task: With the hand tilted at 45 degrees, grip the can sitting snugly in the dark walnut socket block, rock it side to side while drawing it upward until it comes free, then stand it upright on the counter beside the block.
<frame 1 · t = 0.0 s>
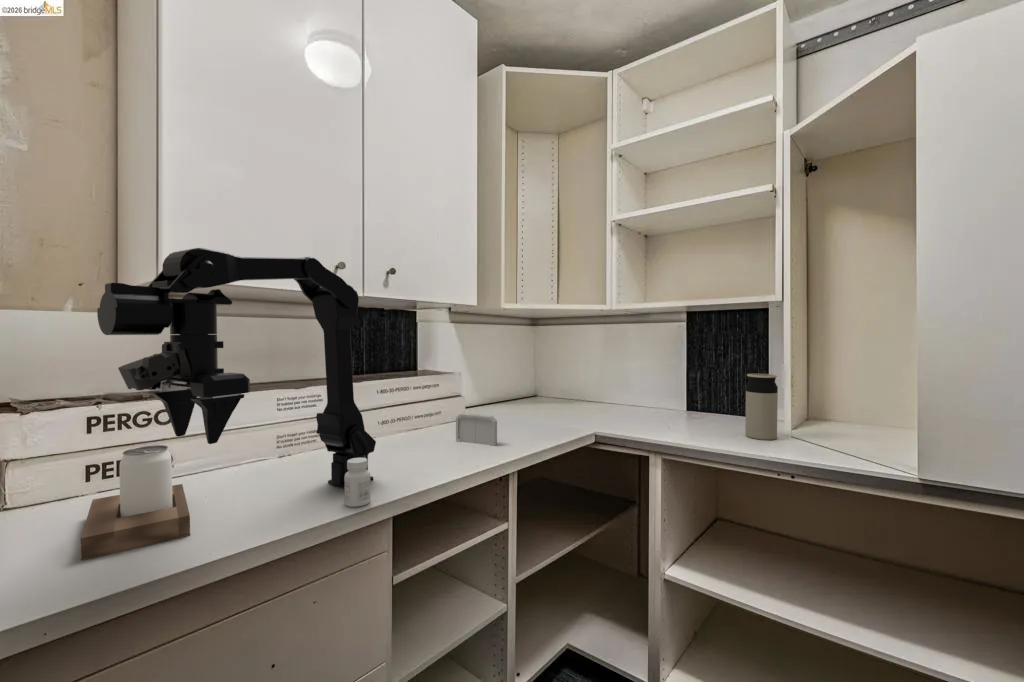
hand: (195, 439, 68), 15 cm above the worktop, tool pointing down, fingers open, 9 cm apart
light switch: (476, 444, 124), on the worktop
socket block: (147, 524, 72), on the worktop
pill bottle: (357, 503, 81), on the worktop
travel mug: (760, 437, 130), on the worktop
can: (147, 525, 72), resting in socket block
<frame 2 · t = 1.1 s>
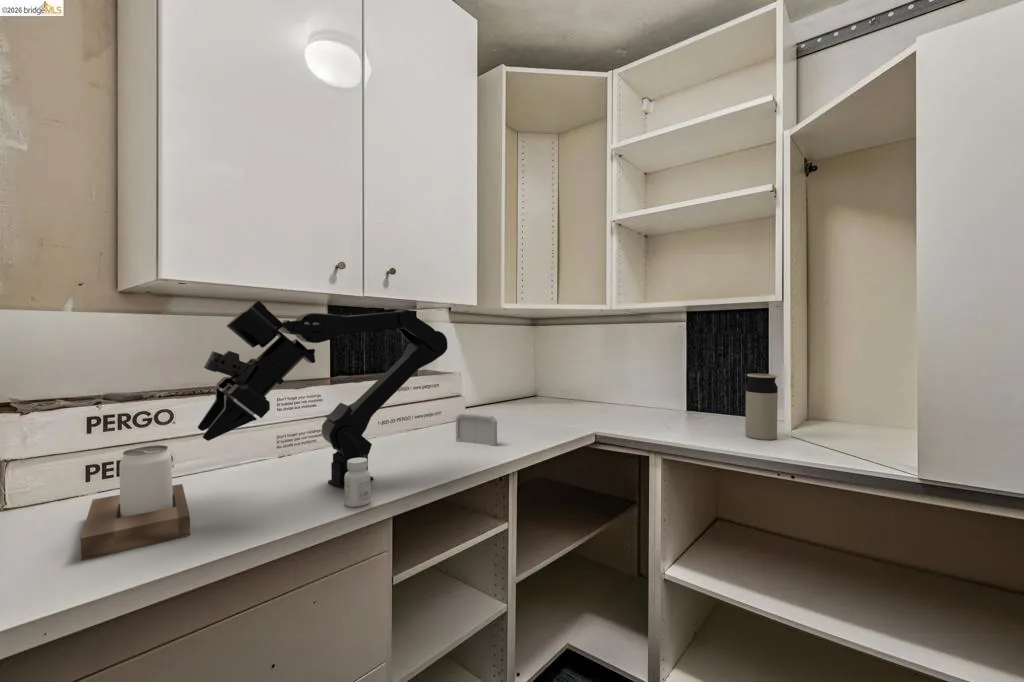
hand: (202, 434, 77), 13 cm above the worktop, tool tilted 45°, fingers open, 9 cm apart
nothing on the worktop moved.
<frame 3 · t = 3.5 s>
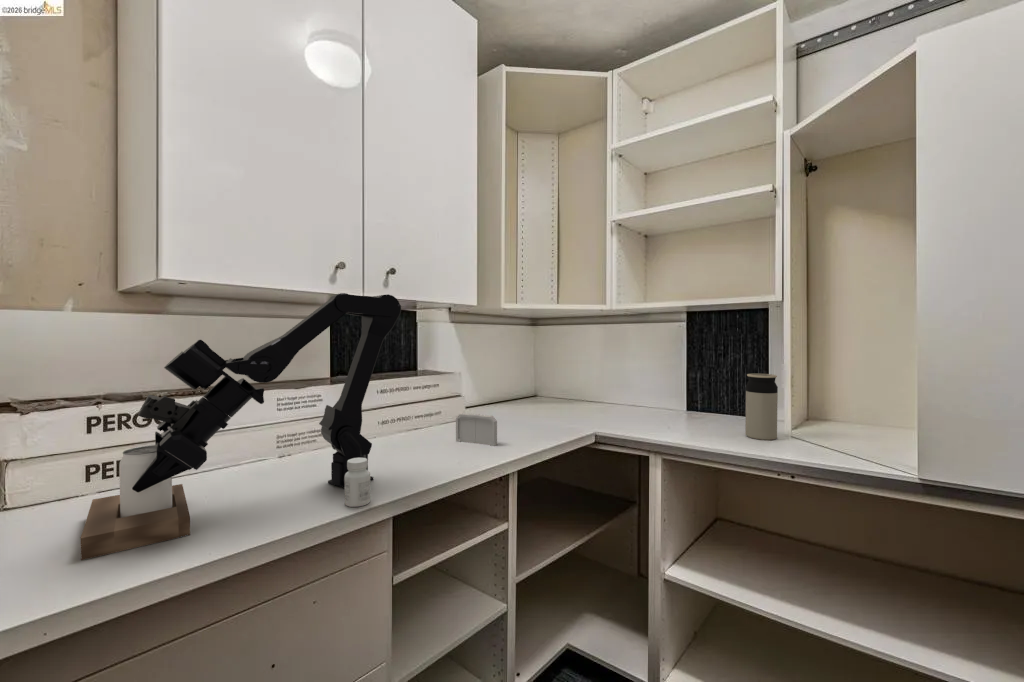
hand: (135, 485, 71), 7 cm above the worktop, tool tilted 45°, fingers closed on can, 6 cm apart
can: (147, 525, 72), resting in socket block, touching gripper
everything else where it was.
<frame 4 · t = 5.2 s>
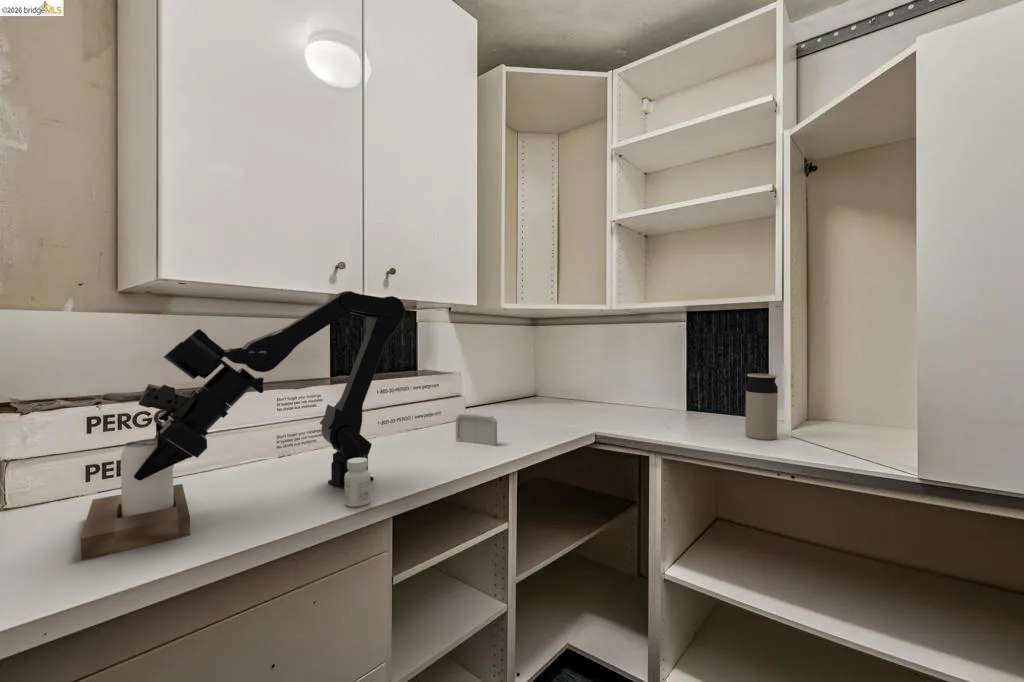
hand: (136, 473, 72), 8 cm above the worktop, tool tilted 45°, fingers closed on can, 6 cm apart
can: (148, 517, 73), point 1 cm above the worktop, touching gripper
everything else where it was.
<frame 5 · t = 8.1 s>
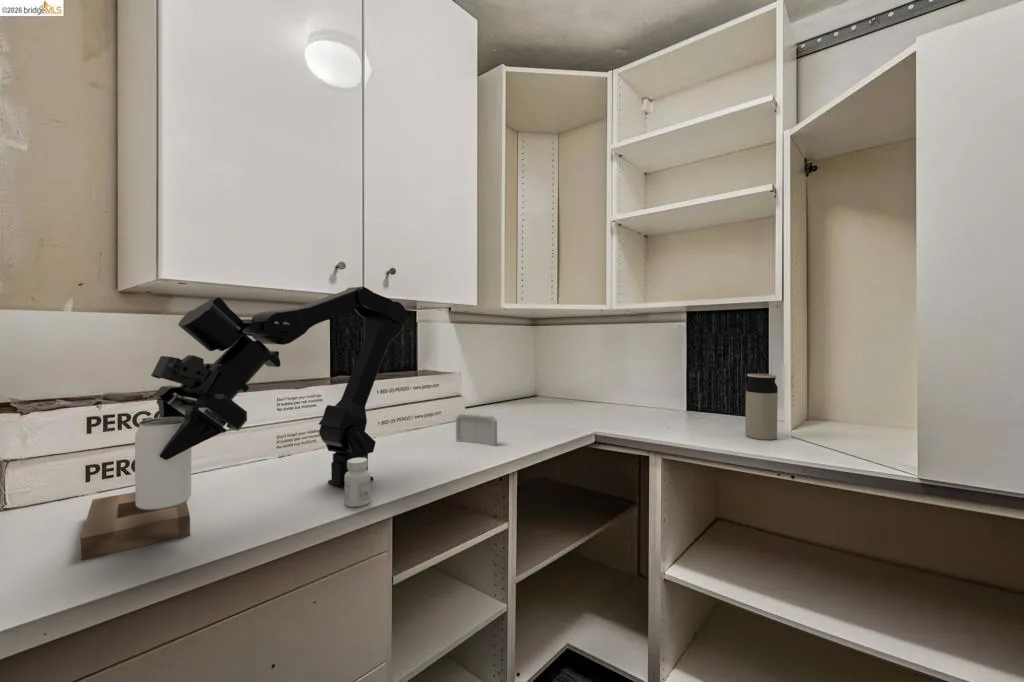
hand: (153, 454, 65), 13 cm above the worktop, tool tilted 45°, fingers closed on can, 6 cm apart
can: (164, 503, 66), point 6 cm above the worktop, touching gripper
everything else where it was.
when the fingers open (8 cm above the worktop, at t = 10.8 s): can stays where it is, on the worktop.
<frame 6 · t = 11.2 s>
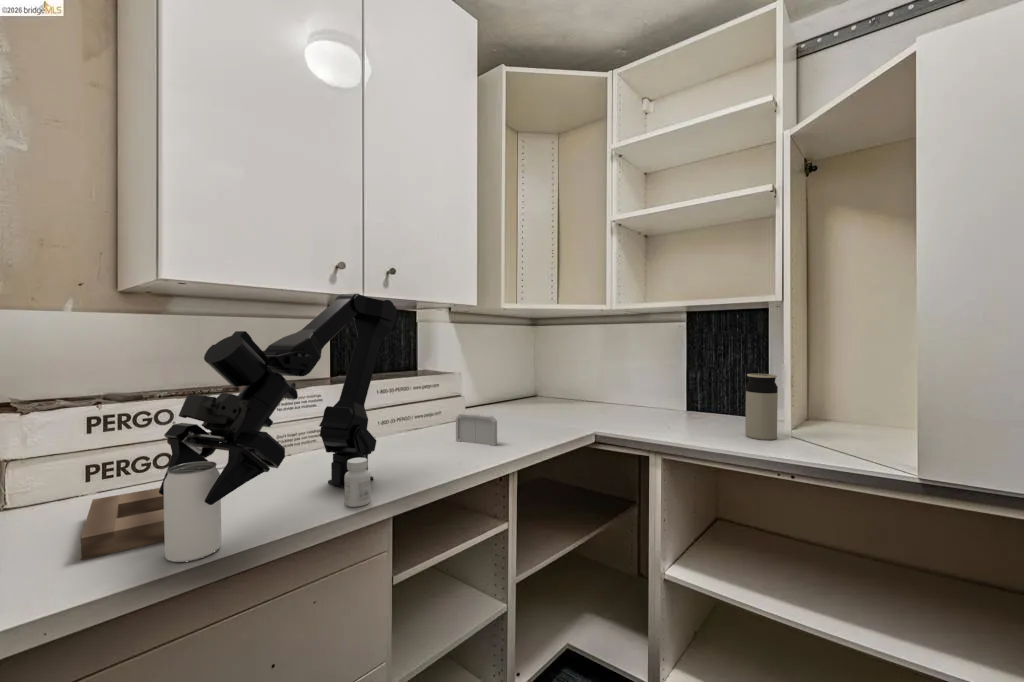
hand: (184, 498, 62), 8 cm above the worktop, tool tilted 45°, fingers open, 9 cm apart
can: (194, 553, 63), on the worktop
everything else where it was.
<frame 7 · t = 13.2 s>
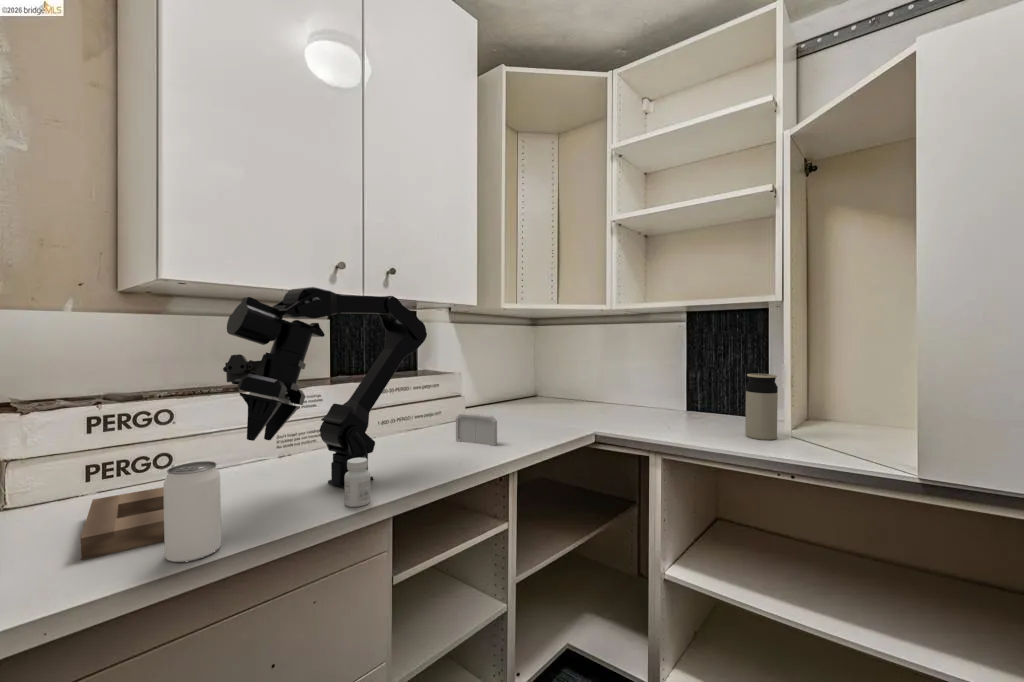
hand: (259, 440, 78), 12 cm above the worktop, tool tilted 20°, fingers open, 9 cm apart
nothing on the worktop moved.
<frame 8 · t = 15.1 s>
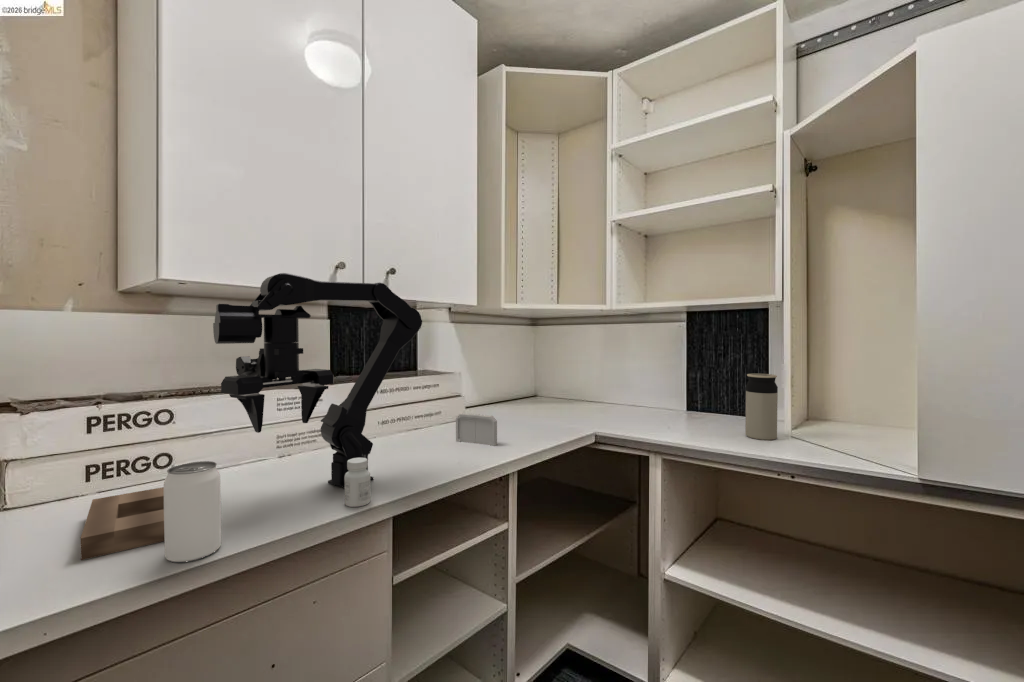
hand: (282, 427, 84), 13 cm above the worktop, tool pointing down, fingers open, 9 cm apart
nothing on the worktop moved.
at the end: can inside the target area (0.4 cm from its centre), on the worktop; can tilted 0°; the gripper is holding nothing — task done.
